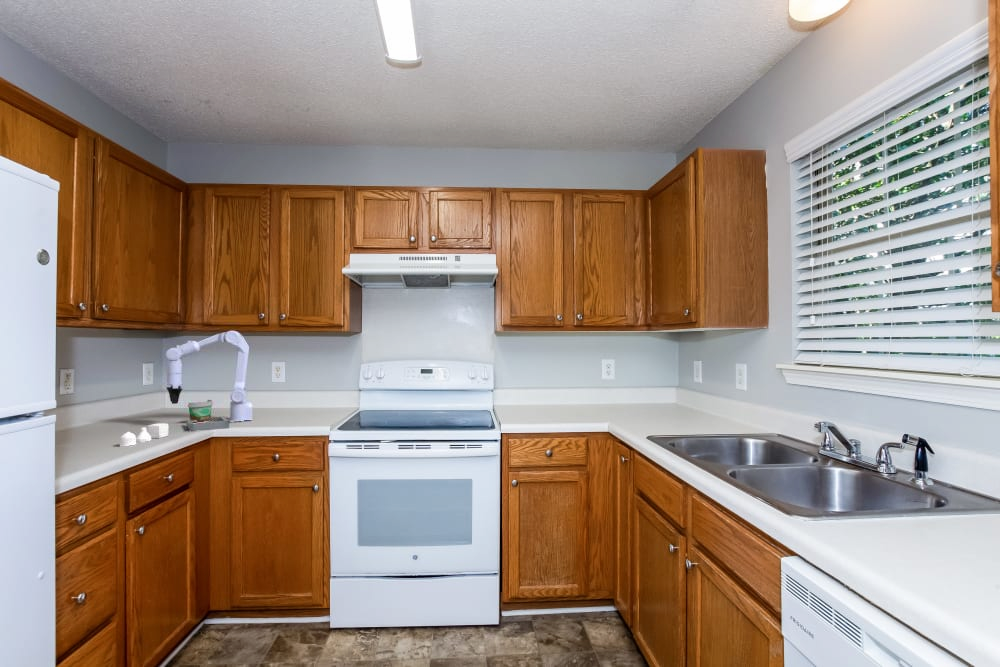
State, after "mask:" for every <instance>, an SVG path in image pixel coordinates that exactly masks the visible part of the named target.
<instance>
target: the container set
mask: <svg viewBox="0 0 1000 667" xmlns="http://www.w3.org/2000/svg"><path fill="white" fill-rule="evenodd" d="M168 436H169V424H168V423H153V424H149V425H147V427H141V428H140V431H139V434H137V435H136V434H134V433H133V432H131V431H127V432H125V433H123V434H122V435H120V438H119V445H120V446H129V445H135V444H137V442H141V443H146V442H145V441H149V442H151V441H152V439H161V438H164V437H168ZM150 440H151V441H150ZM135 446H136V445H135Z"/></svg>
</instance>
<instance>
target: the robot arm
mask: <svg viewBox="0 0 1000 667" xmlns="http://www.w3.org/2000/svg"><path fill="white" fill-rule="evenodd" d="M217 343H227V344H229V345H231V346H233V347H234V348H235V349H236V350H237V352H238V353H237V361H236V369H235V378H234V383H233V384H234V385H233V390H232V392H231V393H230V400H231V401H230V406H229V407H230V411H229V412H230V413H229V414H230V415H229V416H230V417H229V418H228V419H227V420H228V421H229V422H230V421H231V422H230V423H234V422H233V421H241V422H245V421H244V420H252V421H253V403H252V402H251V401H248V400H247V399H246V398H247V397H248V394H247V390H246V387H247V385H246V382H247V372H248V364H249V362H248V361H249V355H250V346H249V344H248V343H247V341H246V339H245V338H244V335H242V334H241V333H240V332H239V331H236V330H228V331H225V332H221V333H217V334H214V335H212V336H210V337H207V338H205V339H202V340H200V341H195V340H188V341H187V342H186V343H184V344H180V345H179V344H177V345H176V347H171V348H169V349H168V350H167V351H165V352H166V353H165V356H166V358H167V361H166V362H167V364H166V383H163V386H166V390H167V391H168V392H167V393H168V394H169V395H168V396H169V400H170V402H171V405H174V404H179V403H178V402H179V400H180V395H181V393H182V390H183V388H182V386H181V385H183V380H182V379H183V374H182V373H183V371H182V370H183V369H182V368H183V363H182V358H183V357H184V358H186V357H188V356H191V355H193V354H197V353H199V352H200V350H201V348H205V347H207V346H210V345H213V344H217Z"/></svg>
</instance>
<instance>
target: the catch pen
mask: <svg viewBox="0 0 1000 667" xmlns="http://www.w3.org/2000/svg"><path fill="white" fill-rule="evenodd" d="M185 420H186V424H185V425H187V426H186V428H187V427H188V428H187V430H188V429H189V430H188V432H190V431H191V432H198V431H197V430H201V431H209V430H219V429H229V428H230V421H229V420H228V419H227V418H226V417H225V416H223V415H222V416H220V417H219V421H210V422H206V423H197V424H193V422H192V421H191V419H190V418H189V419H185Z"/></svg>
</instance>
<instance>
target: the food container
mask: <svg viewBox="0 0 1000 667" xmlns="http://www.w3.org/2000/svg"><path fill="white" fill-rule="evenodd" d="M213 405H214V402H213V400H212V399H207V401H199V402H188V404H187V408H188V411H189V412H188V413H189V419H191V421H192V422H193V423H197V422H204V421H209V420H210V421H211V415H212V407H213Z"/></svg>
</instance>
